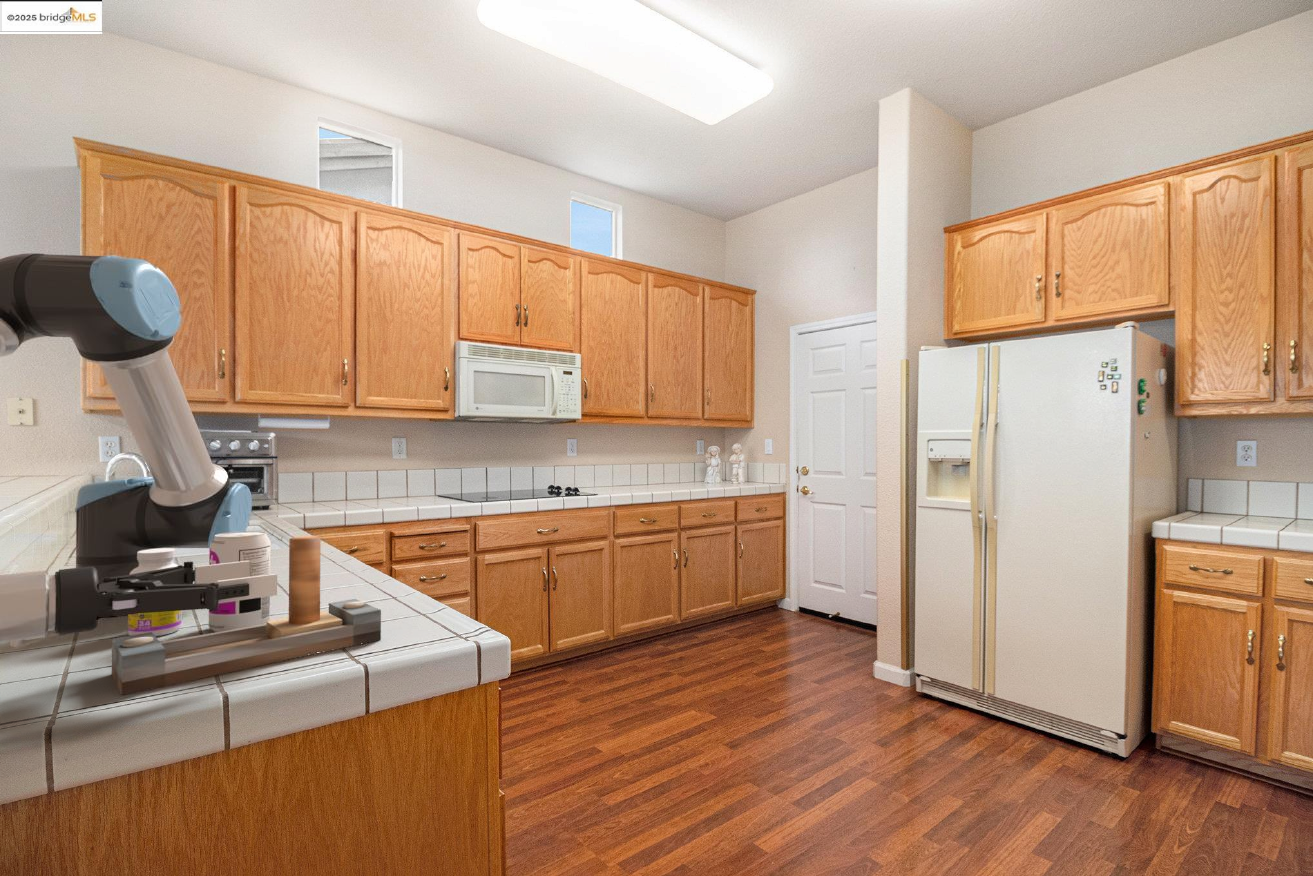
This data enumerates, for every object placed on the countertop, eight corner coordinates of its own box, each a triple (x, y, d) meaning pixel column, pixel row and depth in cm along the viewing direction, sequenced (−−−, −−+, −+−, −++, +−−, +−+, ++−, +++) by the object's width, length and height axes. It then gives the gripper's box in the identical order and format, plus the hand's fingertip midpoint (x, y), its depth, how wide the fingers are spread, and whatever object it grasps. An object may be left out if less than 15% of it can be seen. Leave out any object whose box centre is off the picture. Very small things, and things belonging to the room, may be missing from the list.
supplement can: (205, 637, 98) (206, 538, 98) (213, 624, 105) (214, 532, 105) (267, 630, 101) (268, 535, 101) (271, 618, 109) (272, 529, 109)
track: (111, 674, 82) (112, 635, 82) (354, 627, 103) (355, 596, 103) (122, 695, 75) (122, 653, 75) (380, 640, 96) (380, 607, 96)
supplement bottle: (117, 636, 98) (118, 552, 98) (164, 625, 104) (165, 546, 105) (145, 641, 96) (146, 554, 96) (191, 629, 102) (192, 548, 102)
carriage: (266, 635, 93) (267, 538, 93) (325, 624, 99) (325, 533, 99) (281, 645, 88) (281, 543, 88) (342, 633, 94) (342, 537, 94)
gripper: (47, 615, 83) (239, 589, 98) (57, 661, 65) (289, 621, 80) (47, 557, 83) (239, 540, 98) (58, 587, 65) (289, 561, 80)
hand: (262, 576), depth 89 cm, fingers open, 13 cm apart
